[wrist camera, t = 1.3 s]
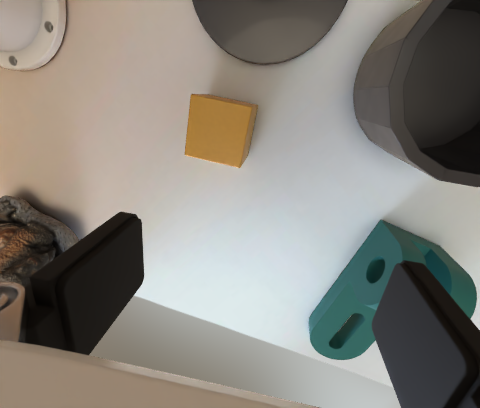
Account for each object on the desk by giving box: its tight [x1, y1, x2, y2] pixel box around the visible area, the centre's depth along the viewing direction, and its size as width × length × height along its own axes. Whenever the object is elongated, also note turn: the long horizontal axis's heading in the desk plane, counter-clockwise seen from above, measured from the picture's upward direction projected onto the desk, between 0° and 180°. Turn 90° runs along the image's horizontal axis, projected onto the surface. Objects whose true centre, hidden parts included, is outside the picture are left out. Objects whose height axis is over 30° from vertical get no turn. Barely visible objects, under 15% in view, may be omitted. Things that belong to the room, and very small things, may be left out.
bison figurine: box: [0, 196, 79, 287], centre depth 30 cm, size 12×7×10 cm, turn 67°
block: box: [185, 94, 258, 168], centre depth 24 cm, size 5×5×5 cm
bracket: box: [309, 220, 477, 360], centre depth 27 cm, size 18×7×8 cm, turn 158°
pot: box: [353, 0, 480, 187], centre depth 18 cm, size 12×12×9 cm
